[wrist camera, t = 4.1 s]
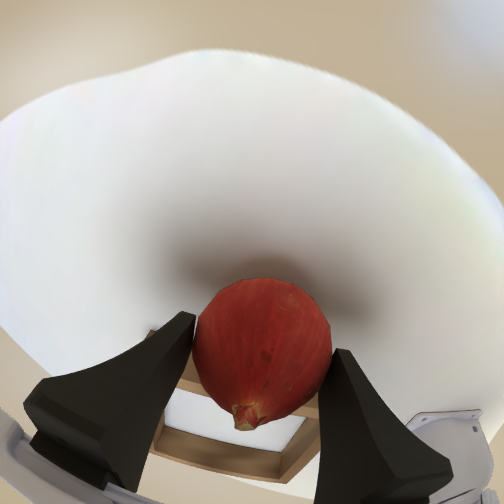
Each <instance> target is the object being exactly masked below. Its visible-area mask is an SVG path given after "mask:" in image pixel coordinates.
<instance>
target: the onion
mask: <svg viewBox="0 0 504 504" xmlns="http://www.w3.org/2000/svg"><path fill="white" fill-rule="evenodd" d="M192 359H193V362H194V365H195V367H196V370H197V373H198V376H199V379H200V383H201V385H202V387H203V388H204V390H205V391H206V392H207V394H208V395H209V396H210V397H211V398H212V399H213V400H214V401H215V402H216V403H217V404H218V405H219V406H220V407H221V408H222V409H224V410H226V411H227V412H229V413H230V414H232V415H233V418H234V422H235V429H237V430H240V431H250V430H255V429H256V428H257V427H258V426H260V425H263V424H266V423H268V422H270V421H274V420H278V419H281V418H285V417H286V416H288V415H290V414H292V413H293V412H294V411H296V410H297V409H299V408H300V407H301V406H303V405H304V404H306V403H307V402H308V401H309V400H311V399H312V398H313V397H314V396H315V395H316V393H317V392H318V391H319V389H320V387H321V385H322V383H323V381H324V378H325V376H326V374H327V372H328V370H329V367H330V365H331V362H332V360H333V359H332V343H331V332H330V325H329V323H328V322H327V320H326V318H325V317H324V315H323V314H322V312H321V311H320V309H319V307H318V306H317V304H316V302H315V301H314V299H313V298H312V297H311V296H310V295H308V294H307V293H305V292H304V291H303V290H301V289H300V288H298V287H297V286H295V285H294V284H291V283H287V282H283V281H279V280H276V279H272V278H259V279H246V280H241V281H239V282H237V283H235V284H233V285H231V286H229V287H227V288H225V289H223V290H221V291H219V292H218V293H217V295H216V296H215V297H214V298H213V299H212V301H211V302H210V303H209V304H208V306H207V307H206V308H205V309H204V311H203V312H202V313H201V315H200V316H199V317H198V322H197V327H196V331H195V336H194V340H193V344H192Z"/></svg>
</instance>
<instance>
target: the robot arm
mask: <svg viewBox="0 0 504 504" xmlns="http://www.w3.org/2000/svg"><path fill="white" fill-rule="evenodd" d="M195 320H196V315H194V314H191V313H187V312H184V311H181V312H179V313H178V314H177V315H176V316H175V317H174V318H172V319H171V320H170V321H169V322H168V323H166V324H165V325H164V326H163V327H161V328H160V329H159V330H157V331H156V332H155V333H153V334H152V335H151V336H149V337H148V338H146V339H145V340H143V341H142V342H140V343H139V344H137V345H136V346H134V347H132V348H131V349H129V350H127V351H125V352H124V353H122V354H120V355H118V356H116V357H114V358H112V359H110V360H107V361H105V362H103V363H101V364H98V365H96V366H93V367H90V368H87V369H84V370H81V371H77V372H74V373H70V374H66V375H61V376H56V377H50V378H44V379H42V380H41V381H40V382H39V383H38V384H37V385H36V387H35V388H34V389H33V391H32V392H31V393H30V394H29V396H28V397H27V399H26V400H25V401H24V402H23V405H24V410H25V411H26V413H27V415H28V416H29V418H30V419H31V421H32V422H33V424H34V425H35V427H36V428H37V430H38V431H37V432H36V434H35V435H34V437H33V438H32V437H30V436H29V435H28V434H26V433H25V432H24V430H23V429H22V427H21V426H20V425H19V423H18V422H17V421H16V420H14V419H13V418H12V417H11V416H10V415H8V414H7V413H6V412H5V411H4V410H2V409H1V408H0V478H1V479H2V480H4V481H5V482H6V483H7V484H8V485H9V486H10V487H12V488H13V489H14V490H15V491H17V492H18V493H19V494H20V495H22V496H23V497H24V498H26V499H27V500H28V501H29V502H31V503H32V504H163V503H160V502H157V501H154V500H151V499H149V498H146V497H143V496H140V495H138V494H135V493H136V492H137V489H138V486H139V482H140V479H141V475H142V472H143V468H144V465H145V462H146V459H147V456H148V453H149V450H150V447H151V444H152V441H153V438H154V435H155V432H156V430H157V427H158V424H159V421H160V419H161V416H162V414H163V412H164V409H165V407H166V405H167V403H168V401H169V399H170V397H171V396H172V394H173V392H174V390H175V388H176V386H177V384H178V382H179V380H180V378H181V376H182V374H183V372H184V370H185V367H186V365H187V362H188V359H189V356H190V353H191V351H192V344H193V336H194V328H195ZM332 359H333V360H332V362H331V365H330V367H329V370H328V372H327V374H326V376H325V378H324V381H323V383H322V385H321V387H320V389H319V391H318V409H319V425H320V442H321V450H320V463H319V473H318V480H317V487H316V493H315V499H314V504H499V500H498V497H497V494H496V491H495V490H490V489H486V490H484V491H483V489H484V488H485V487H486V486H487V485H488V483H489V481H490V479H491V477H492V473H493V466H494V464H493V457H492V454H491V452H490V449H489V446H488V443H487V441H486V438H485V435H484V433H483V430H482V428H481V425H480V423H479V421H478V418H479V417H480V416H481V415H482V413H483V412H482V410H473V411H460V412H442V413H420V414H417V415H416V416H415V417H414V418H413V419H412V420H411V421H410V422H409V423H408V424H407V425H406V426H405V425H404V424H403V423H402V422H401V421H400V420H399V419H398V418H397V417H396V416H395V415H394V413H393V412H392V411H391V410H390V409H389V408H388V406H387V405H386V404H385V403H384V401H383V400H382V399H381V397H380V396H379V395H378V393H377V392H376V390H375V389H374V388H373V386H372V385H371V383H370V382H369V380H368V379H367V377H366V375H365V374H364V372H363V371H362V369H361V368H360V366H359V364H358V363H357V361H356V360H355V358H354V357H353V355H352V354H351V352H350V351H349V350H345V349H339V348H336V350H335V351H334V353H333V355H332Z"/></svg>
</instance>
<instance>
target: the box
mask: <svg viewBox="0 0 504 504" xmlns="http://www.w3.org/2000/svg"><path fill="white" fill-rule="evenodd" d="M153 333H155V331H152V330H150V332H149V333H148V335H147V336H146V338H148V337H149V336H151V335H152V334H153ZM146 338H145V339H146ZM176 388H179V389H182V390H185V391H189V392H192V393H196V394H199V395H203V396H206V397H210V396H209V395H208V394H207V392H206V391H205V390H204V388H203V387H202V385H201V383H200V379H199V376H198V373H197V370H196V367H195V365H194V362H193V359H192V351H191V353H190V356H189V359H188V362H187V365H186V367H185V370H184V372H183V374H182V376H181V378H180V380H179V382H178V384H177V386H176ZM210 398H211V397H210ZM290 415H295V416H302V417H307V418H306V419H305V421H304V422H303V424H302V425H301V427H300V428H299V429H298V431H297V432H296V434H295V435H294V436H293V438H292V439H291V440H290V442H289V443H288V445H287V446H286V447H285V449H284V450H283V451H282V453H277V452H271V451H264V450H259V449H253V448H248V447H243V446H238V445H233V444H229V443H224V442H220V441H216V440H212V439H208V438H204V437H200V436H197V435H193V434H190V433H186V432H183V431H180V430H177V429H174V428H171V427H167V426H165V425H164V412H163V414H162V416H161V419H160V421H159V424H158V427H157V430H156V432H155V435H154V438H153V441H152V444H151V447H150V450H149V452H150V453H152V454H155V455H158V456H161V457H164V458H167V459H170V460H173V461H176V462H179V463H183V464H186V465H190V466H193V467H197V468H201V469H205V470H208V471H213V472H217V473H221V474H226V475H231V476H236V477H241V478H247V479H253V480H259V481H266V482H274V483H283V484H287V483H288V482H289V481H290V480H291V479H292V478H293V477H294V476H295V475H296V474H297V473H298V472H300V471H301V470H302V469H303V468H304V467H305V466H306V465H307V464H308V463H309V462H310V461H311V460H312V459H313V458H314V457H315V455H316V454H317V453H318V452H319V451H320V450H321V442H320V425H319V409H318V392H317V393H316V395H315V396H314V397H313V398H312V399H311V400H309V401H308V402H307V403H306V404H304V405H303V406H301V407H300V408H299V409H297V410H296V411H294V412H293V413H292V414H290Z"/></svg>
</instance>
